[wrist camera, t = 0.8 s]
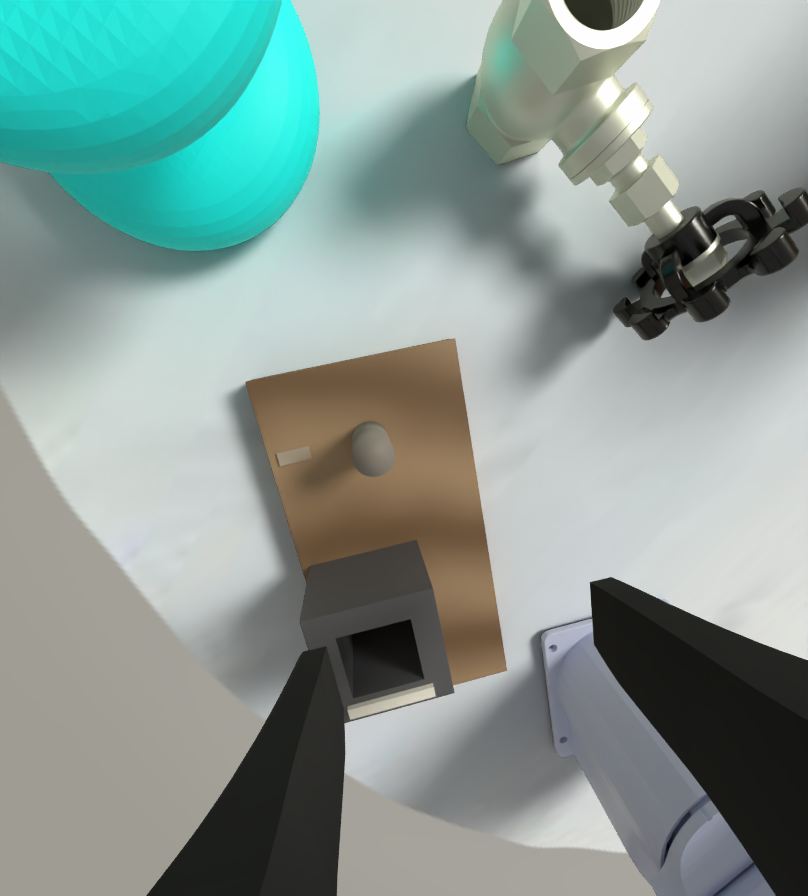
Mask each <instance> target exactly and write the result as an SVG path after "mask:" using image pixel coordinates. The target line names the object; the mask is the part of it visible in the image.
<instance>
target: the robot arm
mask: <svg viewBox="0 0 808 896" xmlns="http://www.w3.org/2000/svg"><path fill="white" fill-rule="evenodd" d="M590 591H591V607H592V619H588V620H584V621H580V622H577V623H573V624H569V625H566V626H562V627H558V628H554V629H551V630H547V631H545V632H544V633H543V634H542V636H541V643H542V651H543V659H544V667H545V675H546V683H547V691H548V699H549V707H550V715H551V723H552V732H553V740H554V748H555V751H556V753H557V755H558V756H559V757H562V758H564V757H568V756H571V755H575V757H576V759H577V761H578V763H579V764H580V766H581V768H582V770H583V772H584V774H585V775H586V777H587V779H588V781H589V783H590V785H591V786H592V788H593V790H594V792H595V794H596V796H597V797H598V799H599V801H600V803H601V805H602V807H603V808H604V810H605V812H606V814H607V816H608V818H609V819H610V821H611V823H612V825H613V827H614V829H615V830H616V832H617V834H618V836H619V838H620V840H621V841H622V843H623V845H624V847H625V849H626V850H627V852H628V854H629V856H630V858H631V859H632V861H633V862H634V864H635V866H636V867H637V869H638V870H639V872H640V873H641V874H642V876H643V877H644V878H645V879H646V880H647V882H648V883H649V884H650V885H651V886H652V887H653V889H654V891H655V893H656V895H657V896H808V660H805V659H802V658H799V657H797V656H794V655H791V654H788V653H785V652H782V651H779V650H777V649H774V648H772V647H769V646H766V645H764V644H761V643H758V642H756V641H753V640H751V639H749V638H746V637H744V636H741V635H739V634H736V633H734V632H731V631H729V630H727V629H724V628H722V627H720V626H717V625H715V624H713V623H710V622H708V621H706V620H703V619H701V618H699V617H697V616H695V615H692V614H690V613H688V612H686V611H684V610H681V609H679V608H677V607H675V606H673V605H672V604H671V603H670V602H668V601H667V600H660V599H658V598H656V597H654V596H651V595H649V594H647V593H645V592H643V591H641V590H639V589H637V588H634V587H632V586H630V585H628V584H626V583H624V582H621V581H619V580H617V579H614V578H612V577H610V578H606V579H602V580H598V581H593V582H590ZM551 645H553V646H552V647H550V646H551ZM344 766H345V728H344V707H343V704H342V700H341V697H340V693H339V689H338V686H337V682H336V679H335V675H334V672H333V668H332V664H331V661H330V657H329V654H328V650H327V646H325V647H321V648H317V649H313V650H308V651H304V652H302V654H301V655H300V657H299V659H298V661H297V663H296V665H295V667H294V669H293V671H292V673H291V675H290V677H289V679H288V681H287V683H286V685H285V687H284V689H283V691H282V692H281V694H280V696H279V698H278V700H277V702H276V704H275V706H274V707H273V709H272V711H271V713H270V715H269V716H268V718H267V720H266V722H265V724H264V725H263V727H262V729H261V731H260V733H259V734H258V736H257V738H256V740H255V741H254V743H253V744H252V746H251V748H250V749H249V751H248V753H247V754H246V756H245V758H244V759H243V761H242V762H241V764H240V766H239V767H238V769H237V771H236V772H235V774H234V776H233V777H232V779H231V780H230V782H229V783H228V785H227V786H226V788H225V789H224V791H223V792H222V794H221V795H220V797H219V798H218V800H217V801H216V803H215V804H214V806H213V807H212V809H211V810H210V811H209V813H208V814H207V816H206V817H205V819H204V820H203V822H202V823H201V824H200V826H199V827H198V829H197V830H196V831H195V833H194V834H193V835H192V837H191V838H190V839H189V841H188V842H187V844H186V845H185V846H184V848H183V849H182V850H181V851H180V853H179V854H178V856H177V857H176V858H175V859H174V861H173V862H172V863H171V865H170V866H169V867H168V869H167V870H166V871H165V872H164V874H163V875H162V876H161V878H160V879H159V880H158V881H157V883H156V884H155V885H154V887H153V888H152V889H151V890H150V892H149V893H148V894H147V896H337V872H338V857H339V842H340V827H341V812H342V797H343V782H344Z"/></svg>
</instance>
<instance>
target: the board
mask: <svg viewBox="0 0 808 896" xmlns="http://www.w3.org/2000/svg"><path fill="white" fill-rule="evenodd" d="M246 386H247V389H248V392H249V396H250V399H251V402H252V405H253V409H254V412H255V415H256V419H257V422H258V425H259V428H260V432H261V435H262V438H263V442H264V445H265V448H266V451H267V455H268V458H269V461H270V465H271V468H272V471H273V474H274V478H275V481H276V484H277V488H278V491H279V494H280V497H281V501H282V504H283V507H284V511H285V514H286V517H287V520H288V524H289V527H290V530H291V534H292V537H293V540H294V543H295V547H296V550H297V553H298V557H299V560H300V563H301V566H302V570H303V573H304V576H305V580H306V583H307V580H308V575H309V570H310V566H311V565H315V564H319V563H324V562H328V561H332V560H336V559H340V558H344V557H348V556H352V555H356V554H360V553H364V552H369V551H373V550H377V549H381V548H385V547H389V546H393V545H397V544H401V543H405V542H410V541H414V540H417V542H418V545H419V548H420V551H421V554H422V557H423V560H424V563H425V566H426V569H427V572H428V575H429V578H430V581H431V584H432V587H433V591H434V596H435V600H436V605H437V610H438V615H439V620H440V625H441V630H442V635H443V639H444V644H445V649H446V654H447V659H448V664H449V669H450V674H451V678H452V683H453V685H456V684H460V683H464V682H467V681H471V680H475V679H478V678H482V677H485V676H489V675H493V674H496V673H500V672H504V671H507V668H506V661H505V655H504V648H503V642H502V636H501V629H500V623H499V616H498V610H497V604H496V597H495V591H494V584H493V578H492V572H491V565H490V559H489V552H488V546H487V540H486V533H485V527H484V520H483V514H482V508H481V501H480V495H479V488H478V482H477V476H476V469H475V463H474V457H473V450H472V444H471V437H470V431H469V425H468V418H467V412H466V405H465V399H464V393H463V386H462V380H461V373H460V367H459V361H458V354H457V348H456V341H455V339H446V340H441V341H437V342H432V343H427V344H422V345H417V346H412V347H408V348H403V349H398V350H393V351H388V352H384V353H379V354H374V355H369V356H364V357H359V358H355V359H350V360H345V361H340V362H335V363H331V364H326V365H321V366H316V367H311V368H306V369H302V370H297V371H292V372H287V373H282V374H278V375H273V376H268V377H263V378H258V379H253V380H250V381H247V382H246Z"/></svg>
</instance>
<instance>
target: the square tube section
mask: <svg viewBox="0 0 808 896" xmlns="http://www.w3.org/2000/svg"><path fill="white" fill-rule="evenodd" d="M300 625H301V628H302V631H303V634H304V637H305V641H306V644H307V647H308V650H313V649H317V648H321V647H325V646H327V650H328V654H329V657H330V661H331V664H332V668H333V672H334V675H335V679H336V682H337V686H338V689H339V693H340V697H341V700H342V704H343V707H344V723H347V722H351V721H354V720H358V719H362V718H365V717H369V716H372V715H376V714H380V713H383V712H387V711H391V710H394V709H398V708H402V707H405V706H409V705H412V704H416V703H420V702H423V701H427V700H431V699H434V698H438V697H441V696H445V695H449V694H452V693H454V688H453V683H452V678H451V674H450V669H449V664H448V659H447V654H446V649H445V644H444V639H443V635H442V630H441V625H440V620H439V615H438V610H437V605H436V600H435V596H434V591H433V587H432V584H431V581H430V578H429V575H428V572H427V569H426V566H425V563H424V560H423V557H422V554H421V551H420V548H419V545H418V542H417V540H414V541H410V542H405V543H401V544H397V545H393V546H389V547H385V548H381V549H377V550H373V551H369V552H364V553H360V554H356V555H352V556H348V557H344V558H340V559H336V560H332V561H328V562H324V563H319V564H315V565H311V566H310V570H309V575H308V580H307V586H306V591H305V596H304V602H303V607H302V612H301V618H300Z"/></svg>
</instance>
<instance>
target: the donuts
mask: <svg viewBox="0 0 808 896" xmlns="http://www.w3.org/2000/svg"><path fill="white" fill-rule="evenodd" d="M319 116H320V109H319V93H318V84H317V77H316V71H315V66H314V61H313V57H312V53H311V50H310V46H309V43H308V40H307V37H306V34H305V31H304V29H303V27H302V24H301V22H300V19H299V17H298V15H297V13H296V10H295V8H294V6H293V4H292V2H291V0H0V162H3V163H7V164H11V165H15V166H18V167H23V168H28V169H33V170H38V171H44V172H48V173H49V174H50V175H51V176H52V177H53V178H54V179H55V181H56V182H57V183H58V184H59V185H60V186H61V187H62V188H63V189H64V190H65V191H66V192H67V193H68V194H70V195H71V196H72V197H73V198H74V199H75V200H76V201H77V202H78V203H79V204H81V205H82V206H83V207H84V208H86V209H87V210H88V211H89V212H91V213H92V214H94V215H95V216H96V217H98V218H99V219H101V220H102V221H104V222H105V223H107V224H109V225H110V226H112V227H114V228H116V229H117V230H120V231H122V232H124V233H126V234H128V235H130V236H132V237H134V238H137V239H139V240H142V241H144V242H147V243H150V244H153V245H157V246H161V247H165V248H170V249H176V250H185V251H205V250H215V249H221V248H226V247H230V246H234V245H237V244H239V243H242V242H245V241H247V240H249V239H251V238H253V237H255V236H257V235H258V234H260V233H262V232H263V231H265V230H266V229H268V228H269V227H270V226H271V225H273V224H274V223H275V222H276V221H277V220H278V219H279V218H280V217H281V216H282V215H283V214H284V213H285V212H286V211H287V210H288V208H289V207H290V206H291V204H292V203H293V202H294V200H295V199H296V197H297V195H298V194H299V192H300V190H301V188H302V186H303V184H304V182H305V180H306V178H307V176H308V173H309V171H310V168H311V165H312V162H313V158H314V154H315V150H316V146H317V140H318V132H319Z"/></svg>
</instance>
